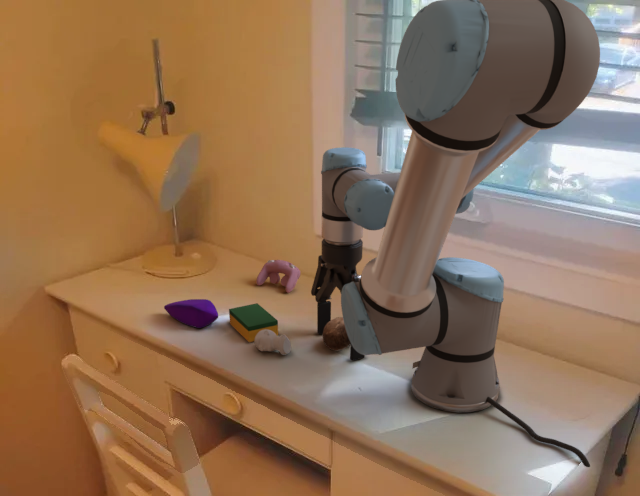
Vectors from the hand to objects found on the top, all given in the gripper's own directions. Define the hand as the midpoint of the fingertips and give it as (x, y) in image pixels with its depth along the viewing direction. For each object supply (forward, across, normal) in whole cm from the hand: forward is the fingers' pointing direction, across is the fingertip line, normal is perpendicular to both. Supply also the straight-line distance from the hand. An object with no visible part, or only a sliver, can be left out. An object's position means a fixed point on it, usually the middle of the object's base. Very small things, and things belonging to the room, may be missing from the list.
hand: (340, 345), depth 141 cm
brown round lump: (0, 0, 0) cm, 0 cm away
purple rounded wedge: (0, +25, +22) cm, 33 cm away
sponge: (0, +15, +12) cm, 19 cm away
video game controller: (0, +34, -3) cm, 34 cm away
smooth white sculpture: (0, +4, +13) cm, 14 cm away
